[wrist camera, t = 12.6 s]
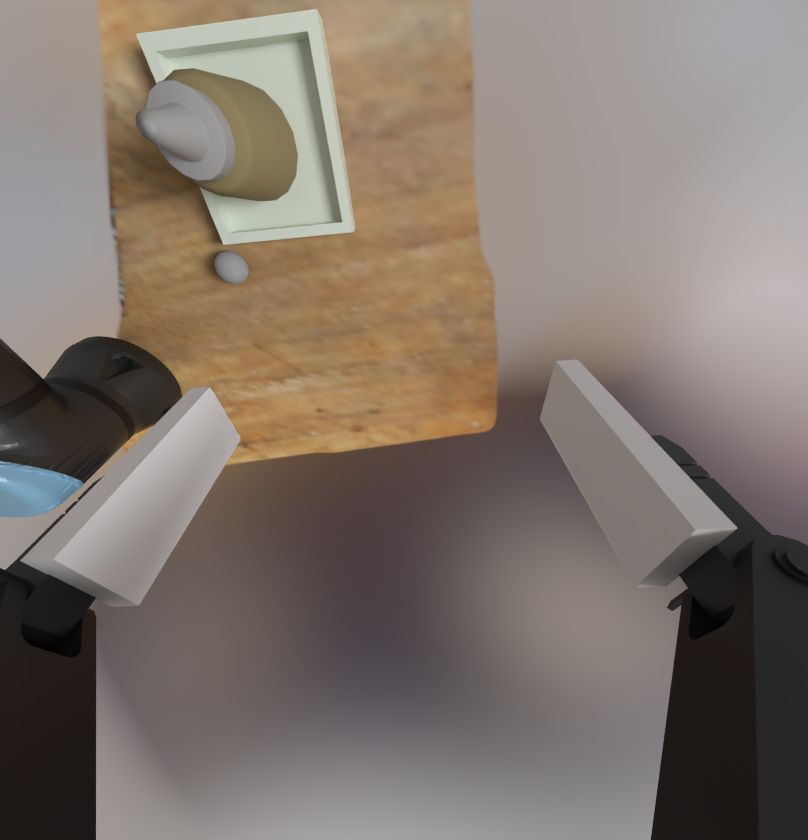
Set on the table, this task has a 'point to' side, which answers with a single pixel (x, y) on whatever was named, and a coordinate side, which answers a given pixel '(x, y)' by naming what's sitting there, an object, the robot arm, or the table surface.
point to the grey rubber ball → (231, 267)
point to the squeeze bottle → (221, 134)
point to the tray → (301, 104)
